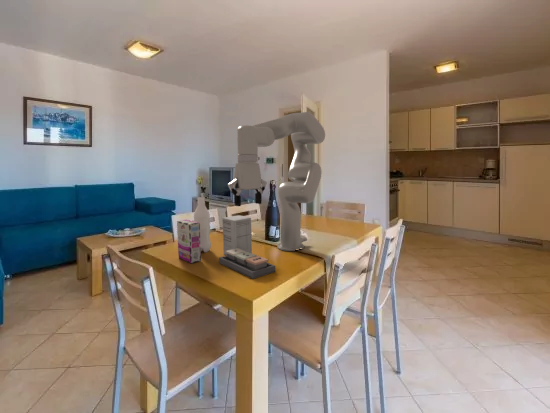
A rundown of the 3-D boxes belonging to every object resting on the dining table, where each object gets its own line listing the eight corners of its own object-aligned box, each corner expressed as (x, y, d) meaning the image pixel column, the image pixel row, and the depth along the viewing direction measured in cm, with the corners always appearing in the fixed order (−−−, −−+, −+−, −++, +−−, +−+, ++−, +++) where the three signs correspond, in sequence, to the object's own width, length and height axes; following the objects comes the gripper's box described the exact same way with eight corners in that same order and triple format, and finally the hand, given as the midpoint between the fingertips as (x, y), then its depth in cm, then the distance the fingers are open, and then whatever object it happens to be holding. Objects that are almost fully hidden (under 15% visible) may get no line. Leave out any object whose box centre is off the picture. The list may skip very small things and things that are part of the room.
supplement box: (240, 250, 141) (239, 214, 139) (252, 254, 135) (252, 217, 132) (222, 254, 135) (221, 217, 132) (235, 259, 128) (234, 220, 126)
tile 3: (258, 262, 117) (258, 255, 116) (268, 266, 112) (268, 258, 112) (245, 265, 113) (245, 258, 113) (255, 269, 108) (255, 262, 108)
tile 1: (237, 254, 127) (237, 247, 127) (246, 257, 123) (246, 250, 122) (225, 257, 123) (225, 250, 123) (233, 260, 119) (233, 253, 118)
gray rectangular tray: (240, 257, 130) (240, 252, 130) (275, 271, 113) (275, 265, 113) (219, 263, 123) (219, 257, 123) (252, 279, 106) (252, 272, 106)
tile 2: (247, 258, 122) (247, 251, 122) (256, 261, 118) (256, 254, 117) (235, 261, 118) (235, 254, 118) (244, 265, 114) (244, 257, 113)
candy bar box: (201, 261, 126) (200, 222, 124) (191, 264, 123) (189, 224, 120) (188, 255, 134) (186, 219, 132) (178, 257, 130) (176, 220, 128)
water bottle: (207, 253, 136) (205, 198, 132) (192, 253, 137) (189, 198, 134) (213, 249, 143) (211, 196, 139) (199, 248, 144) (197, 196, 140)
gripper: (259, 159, 122) (260, 202, 125) (222, 159, 111) (223, 205, 113) (271, 159, 117) (271, 203, 119) (233, 159, 105) (234, 207, 108)
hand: (248, 204), depth 116 cm, fingers open, 9 cm apart
